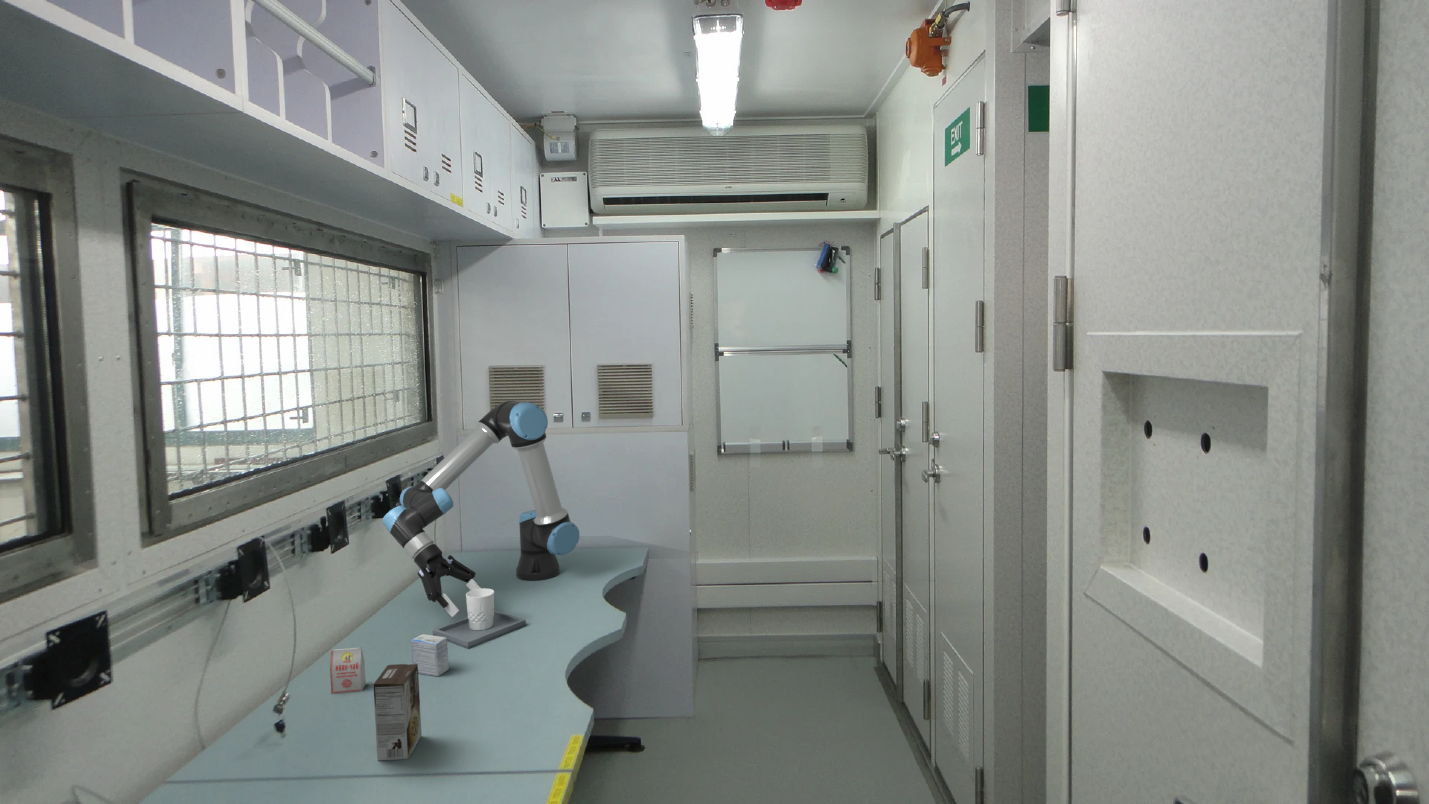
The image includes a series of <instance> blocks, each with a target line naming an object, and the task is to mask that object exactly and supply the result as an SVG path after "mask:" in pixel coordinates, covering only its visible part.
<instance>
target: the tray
mask: <svg viewBox="0 0 1429 804" xmlns="http://www.w3.org/2000/svg"><path fill="white" fill-rule="evenodd" d="M526 621H527V620H526V619H524V618H521V617H518V616H515V615H512V614H509V613H506V612H502V611H499V610H496V609H494V616H493V626H492V627H490V628H488V629H485V630H472V629H470V628H469V619H468V616H467V617H465V618H461V619H458V620H456V621H453V622H450V623H448V624H445V625H442V626H439V627H436V628H434V629H432V635H433V636H440V637H446V638H447V643H451V644H453V645H456V646H459V647H461V648H464V649H467V650H469V649H471V648H474V647H476V646H479V645H481V644H484V643H487V642H489V641H491V640H493V639H496V638H499V637H501V636H503V635H506V634H509V633H511V632H514V631H516V630H518V629H519V630H520V629H521V628H524V627H526V625H527V622H526Z"/></svg>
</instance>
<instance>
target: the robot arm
mask: <svg viewBox="0 0 1429 804" xmlns="http://www.w3.org/2000/svg"><path fill="white" fill-rule="evenodd" d="M548 421H549V420H548V416H547V414H546V412H545V411H544V410H543V408H542V407H541V406H539V405H537V404H536V403H532V402H529V401H517V400H516V401H515V400H508V401H507V400H506V401H503V402H501V403H499V404H497V405H496V406H495V407H492V409H490V411H489V412H487V413H486V414H485V415H484V416H483V417H482V418H481V419H480V420H478V422H477V423H476V428H475V429H474V430H472V431H471V432H470V433H469V434H468V435H467V436H466V437H465V438H464V439H463V440H462V441H461V442H460V443H459V444H458V445H457V446H456V447H455V448H453V450H451V451H450V452H449V453H448V454H447V455H446V456H445V457H444V458H443V459H441V461H440V462H438V464H437V465H435V467H433V468H432V469H431V470H430V471H429V472H428V473H427V474H426V475H424V477H423V478H422V479H421V480H419V482H417V483H416V484H415V485H414V486H409V487H406V488H404V490H402V492H401V493H400V495H399V496H400V497H399V503H400V505H398V506H396V507H393V508H392V509H390V510H389V511H388V512H387V513H386V514H385V515H384V516H383V518H382V524H383V526H385V528H386V529H387V531H388V532H389V534H390V535H391V536H392V537H393V538H394V539H395V540H396V542H397V543H398V544H399V545H400V547H401V548H402V549H404V551H405V552H406V553H407V554H408V556H409V557H410V558H411V559H412V560H413V562H414V563H415V564H416V566H417V567H418V568H419V569H420V570H419V571H418V572H417V576H418V577H419V578H420V580H421V583H422V586H423V588H424V592H425V595H426V598H427V600H428V601H430V602H431V601H432V602H433V603H436V602H437V603H438V604H439V605H440V606H441V608H442V609H444V610H445V611H446V613H448V615H450V617H451V618H453V617H455V616H456V615H457V614H458V613H459V611H460V610H459V608H458V607H457V606H456V604H455V603H454V602H453V601H452V600H451V598H449V596H448V595H447V594H446V593H443V591H442V581H441V578H443V577H448V576H450V577H452V578H455V579H457V580H460V581H462V582H464V583H466V584H465V585H466V587H467V588H468V589H469V591H472V590H475V589H482V587H481V586H480V584H479V583H478V581H476V579H475V577H476V575H477V573H476V572H475V571H474V570H472V569H470V568H469V567H468V566H466V565H465V564H463V563H462V562H459V561H458V560H457V559H456V558H454V556H452V555H451V554H449V555H448V556H446V558H444V557H443V551H442V550H441V548H440V547H439V546H438V545H437V544H436V543H434V540H433V538H431V537H430V535H429V534H428V533H427V532H426V531H425V530H424V529H425V528H426V527H427V526H430V524H432V523H433V522H435V521H436V520H438V519H439V518H441V517H442V516H443V515H446V514H447V513H448V511H451V509H452V508H454V505H455V504H454V500H453V498H452V497H451V495H450V494H449V493H448V491H447V488H448V487H449V486H451V484H453V482H455V481H456V480H457V479H458V478H459V477H460V476H461V475H462V474H463V473H464V472H465V471H466V470H467V469H468V468H469V467H471V465H473V464H474V462H475V461H476V460H478V458H480V457H481V456H482V455H483V454H484V453H485V452H486V451H487V450H488V449H489V448H490V447H491V446H492V445H493V444H499V443H500V442H501V441H502V440H503V439H505V438H507V437H508V439H509V443H510V446H511V448H512V449H514V450H517V452H518V456H519V460H520V463H521V466H522V469H523V473H524V476H525V479H526V482H527V486H528V489H529V493H530V497H531V499H532V502H533V505H534V510H528V511H527V510H526V511H524V512H522V513H520V515H519V522H518V524H519V539H520V540H519V541H520V543H519V544H520V545H519V546H520V556H519V560H518V562H517V563H518V564H517V567H516V569H515V571H516V578H518V579H520V580H525V581H541V580H547V579H551V578H554V577H556V576H558V575H559V574H560V571H561V570H560V569H561V568H560V564H559V561H558V559H557V556H565V555H568V554H570V553H571V552H573V550H574V549H575V548H576V547H577V545H578V544H579V540H580V530H579V527H578V526H577V525H576V524H575V523H574V522H571V519H570V516H569V511H568V509H566V508H564V507H562V503H561V500H560V497H559V493H558V490H557V487H556V482H555V480H554V475H553V472H552V469H551V465H550V462H549V458H548V455H547V452H546V447H545V444H544V442H545V441H546V439H547V434H546V431H547V428H548V424H549V423H548Z"/></svg>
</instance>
